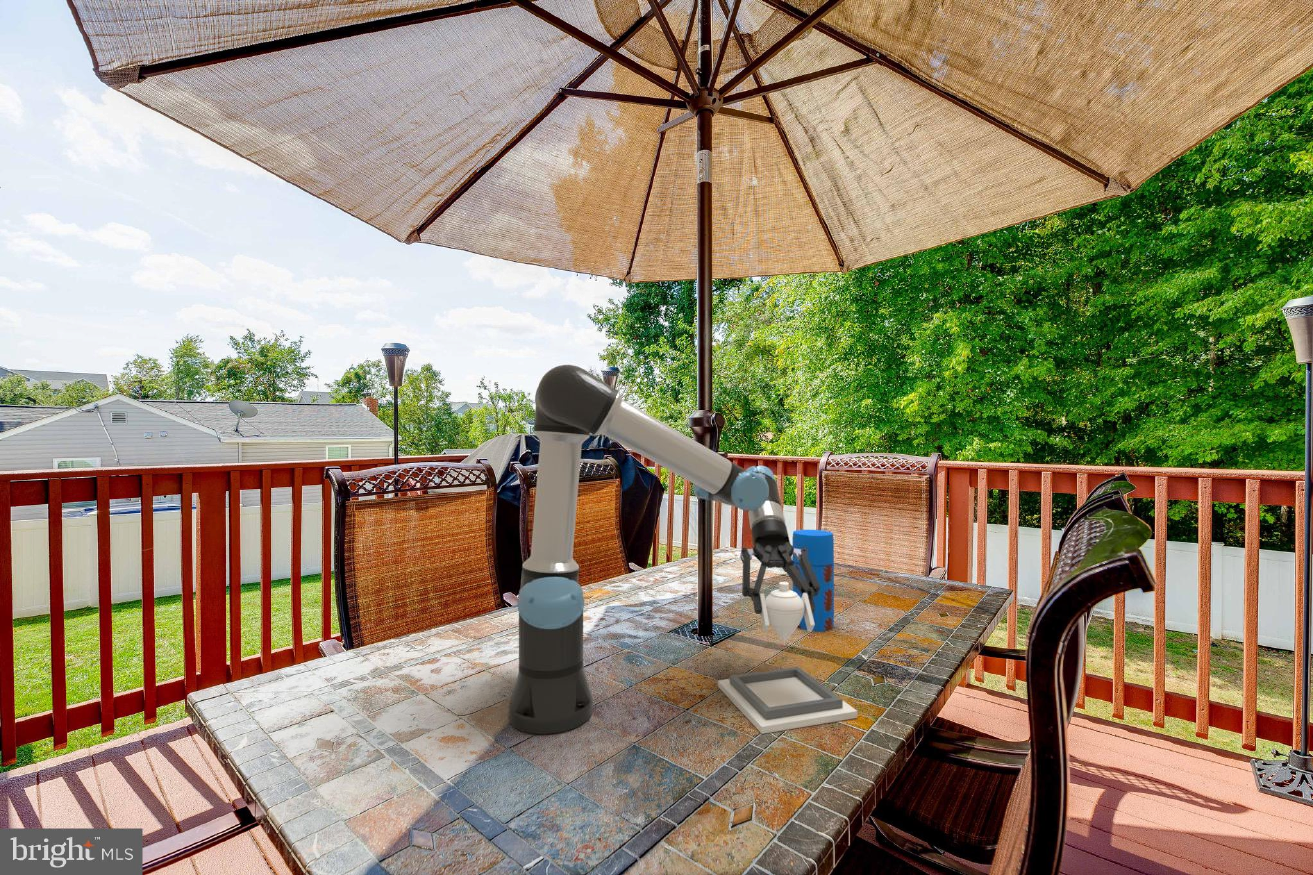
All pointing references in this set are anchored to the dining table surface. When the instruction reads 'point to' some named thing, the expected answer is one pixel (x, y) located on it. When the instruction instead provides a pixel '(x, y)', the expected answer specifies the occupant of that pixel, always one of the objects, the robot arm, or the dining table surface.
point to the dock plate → (784, 699)
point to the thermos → (818, 574)
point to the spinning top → (784, 610)
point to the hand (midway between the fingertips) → (788, 628)
